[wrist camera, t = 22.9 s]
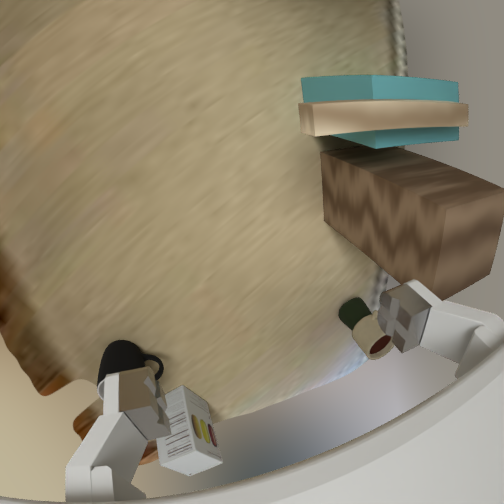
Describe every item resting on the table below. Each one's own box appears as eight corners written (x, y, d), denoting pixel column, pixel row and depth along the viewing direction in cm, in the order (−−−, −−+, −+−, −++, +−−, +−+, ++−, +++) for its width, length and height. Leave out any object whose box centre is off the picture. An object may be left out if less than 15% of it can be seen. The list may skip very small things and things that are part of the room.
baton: (298, 103, 26) (312, 104, 24) (451, 101, 30) (468, 104, 28) (301, 132, 28) (315, 136, 25) (451, 122, 32) (468, 126, 29)
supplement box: (208, 401, 67) (225, 463, 52) (177, 417, 67) (190, 477, 53) (182, 383, 62) (196, 450, 47) (150, 401, 62) (158, 466, 48)
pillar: (320, 151, 47) (446, 209, 25) (383, 143, 50) (508, 190, 28) (324, 220, 53) (427, 308, 31) (383, 205, 56) (489, 274, 34)
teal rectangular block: (300, 77, 41) (371, 75, 26) (380, 76, 44) (457, 82, 29) (306, 128, 45) (375, 148, 30) (383, 121, 48) (458, 140, 33)
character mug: (359, 322, 69) (390, 359, 58) (332, 330, 67) (361, 371, 56) (367, 283, 64) (404, 319, 53) (339, 290, 62) (374, 330, 51)
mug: (109, 370, 55) (108, 410, 46) (93, 337, 51) (88, 379, 42) (166, 361, 58) (172, 402, 49) (155, 327, 53) (159, 369, 45)
